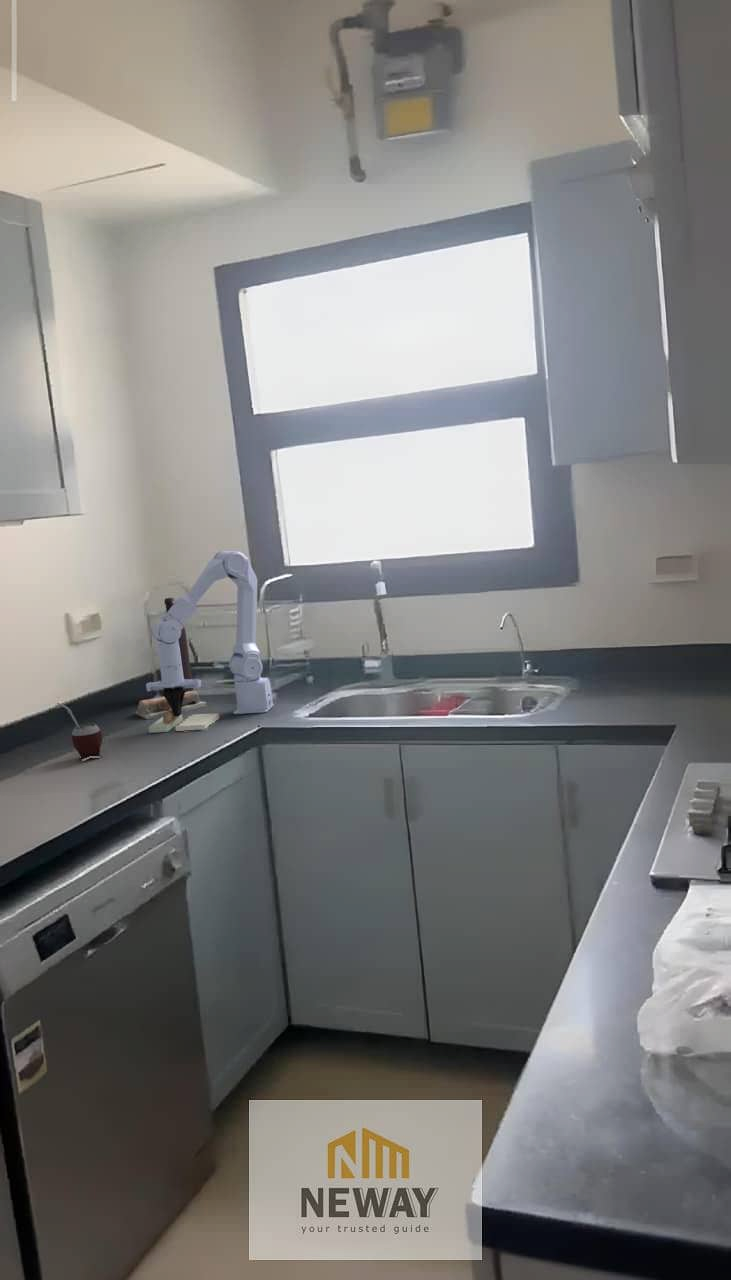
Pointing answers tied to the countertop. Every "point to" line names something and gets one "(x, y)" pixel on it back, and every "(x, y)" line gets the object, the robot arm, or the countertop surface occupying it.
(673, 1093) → the countertop surface
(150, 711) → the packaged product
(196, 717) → the block
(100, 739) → the mate gourd
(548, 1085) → the countertop surface
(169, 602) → the wine bottle
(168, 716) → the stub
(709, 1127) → the countertop surface
